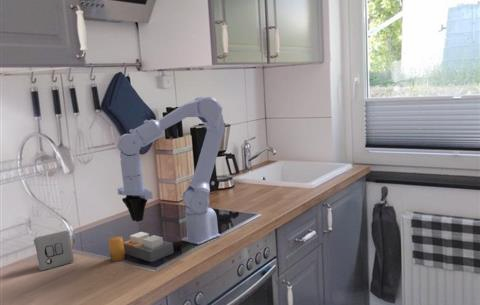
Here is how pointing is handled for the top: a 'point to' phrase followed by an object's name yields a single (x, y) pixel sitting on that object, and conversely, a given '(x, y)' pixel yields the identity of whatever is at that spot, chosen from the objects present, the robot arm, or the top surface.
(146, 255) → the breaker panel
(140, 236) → the tagged button
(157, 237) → the button
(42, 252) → the electrical switch
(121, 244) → the cap
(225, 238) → the top surface
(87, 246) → the top surface
